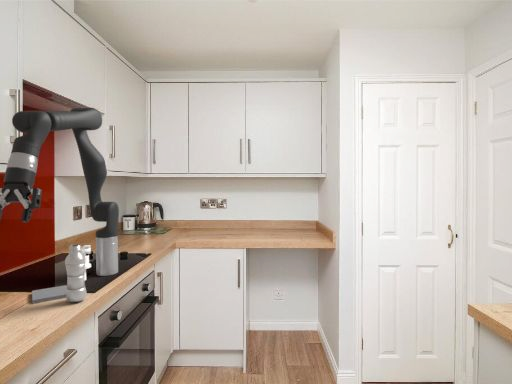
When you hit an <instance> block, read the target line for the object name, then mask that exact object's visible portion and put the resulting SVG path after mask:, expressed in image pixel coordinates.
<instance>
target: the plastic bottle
mask: <svg viewBox="0 0 512 384" xmlns="http://www.w3.org/2000/svg"><path fill="white" fill-rule="evenodd" d="M81 247H82V245H81V244H71V245H69V247H68V248H69V249H68V252H69V253H68V255H67V256H66V257H65V259H64V264H65V270H66V276H67V277H66V278H67V280H66V282H67V283H66V285H67V290H66V298H65V299H66V300H67V302H69V303H78V302H82V301H84V300H85V299H86V297H87V287H86V283H85V281H86V280H85V281H84V268H85V257H84V255H83V254H82V253H81V252H80V251H81V249H82V248H81Z"/></svg>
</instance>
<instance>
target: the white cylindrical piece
mask: <svg viewBox="0 0 512 384" xmlns="http://www.w3.org/2000/svg"><path fill="white" fill-rule="evenodd" d="M91 247H92V245H91V244H88V245H87V244H85V245H83V246H81V251H80V252H81V253H82V254H83V255H84V257H85V268H84V281H87V269H90V268H92V263H90V254H92V250H91V249H92V248H91ZM87 254H88V255H87Z"/></svg>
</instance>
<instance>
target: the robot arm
mask: <svg viewBox="0 0 512 384" xmlns="http://www.w3.org/2000/svg"><path fill="white" fill-rule="evenodd" d="M11 121H12V122H11V123H12V126H13V127H14V129H15V130H17V132H20V133H23V135H20V136H17V137H16V138H15V139H14V140H13V144H12V148H11V152H10V156H9V158H8V161H7V164H6V169H5V173H4V177H3V183H4V184H3V186H2V187H0V221H1V218H2V215H3V209H4V208H5V207H6V206H8V205H10V204H11V203H12V204H15V203H19V204H20V203H21V204H22V206H23V208H24V209H23V210H22V214H21V219H20V221H21V222H22V223H26V224H27V223H29V221H31V217H32V214H33V213H32V212H33V210H35V209H40V208H41V204H42V203H41V201H42V196H43V190H42V189H40V188H38V187H36V186H35V187H34V185H35V180H36V174H37V170H38V165H39V164H38V163H39V155H40V150H41V147H42V146H43V144H44V142H45V141H46V139H47V137H48V135H49V133H50V132H59V131H67V130H72V133H73V136H74V139H75V141H76V145H77V149H78V153H79V157H80V162H81V167H82V172H83V175H84V176H83V177H84V180H85V184H86V188H87V193H88V201H89V210H90V215H91V216H90V217H91V218H92V220H93V221H94V222H98V223H99V222H101V223H102V222H106V223H105V226H104V227H103V228H100V229H98V230H96V231H95V258H96V259H95V260H96V261H95V262H96V266H95V267H96V275H97V276H101V277H102V276H103V277H104V276H105V277H106V276H112V275H116V274H117V273H119V248H118V246H119V245H118V244H119V242H118V240H119V239H118V232H119V224H120V223H119V220H120V219H119V218H120V209H119V205H118V203H117V202H115V201H102V197H101V196H102V195H101V191H102V187H103V186H104V184H105V181H106V179H107V176H108V170H107V165H106V160H105V158H104V156H103V155H102V154H101V152H100V151H99V149H97V148H96V147H95V145H94V144H93V143H92V142H91V140H90V137H89V135H88V131H97V130H98V129H100V128H101V127H102V124H103V116H102V113H101V112H100V111H99V110H98V109H97V108H95V107H72V108H71V110H70V111H68V110H44V111H43V110H21V111H18V112H16V113H14V114H13V116H12V119H11ZM30 196H31V198H30Z"/></svg>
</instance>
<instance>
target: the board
mask: <svg viewBox="0 0 512 384" xmlns="http://www.w3.org/2000/svg"><path fill="white" fill-rule="evenodd" d="M66 290H67V284H66V285H65V284H64V285H60V286H53V287H47V288H41V289H35V290H32V291H31V301H32V304H38V303H43V302H45V303H46V302H49V301H54V300H55V301H56V300H60V299H66Z"/></svg>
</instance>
